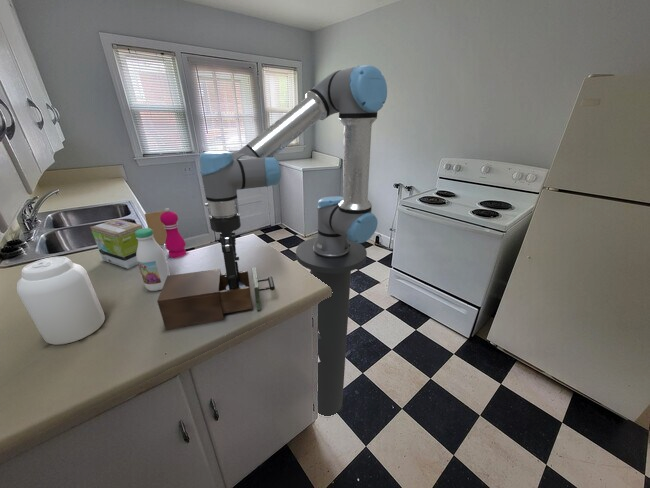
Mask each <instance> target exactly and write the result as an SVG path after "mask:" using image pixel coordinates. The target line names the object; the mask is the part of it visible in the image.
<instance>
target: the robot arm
mask: <svg viewBox="0 0 650 488" xmlns="http://www.w3.org/2000/svg"><path fill="white" fill-rule="evenodd" d="M387 98H388V85H387V81H386V78H385V76H384V75H383V73H382V71H381V70H380V69H379V68H377V67H376V66H375V65H372V64H371V65H370V64H369V65H357V66H354V67H349V68H345V69H339V70H335V71H333V72H332V73H330V74H328V75H327V76H326V77H324V78H323V79H322V80H320V81H318V83H317V84H316V85H314V86H313V87H312V88H311V89H309V90H308V91H307V92H306V93H305V96H304V99H302V100H301V101H299V102H298V103H297V104H296V105H295V106H294V107H292V108H291V109H290V110H288V111H287V112H286V113H285V114H283V115H282V116H281V117H279V119H277V120H276V121H275V122H274V123H272V124H271V125H269V126H268V127H267V128H266V129H264V130H263V131H262V132H260V133H259V134H258V135H257V136H256V137H254V138H253V139H252V140H251V141H250V142H248V143H246V144H245V145H244V146H243V147H241V148H240V149H239V150H236V151H235V150H234V151H232V152H230V151H227V150H211V151H210V150H209V151H204V152H201V153H200V155H199V166H200V175H201V180H202V184H203V190H204V196H205V200H206V202H204V203H203V205H204V207H207V213H208V215H209V217H208V219H209V226H210V230H212V232H215V233H219V243H220V245H221V252H222V254H223V260H224V267H225V273H226V275H227V276H224V278H227V279H228V285H229V289H235V288H239V281H240V278H239V272H240V270H239V265H238V264H239V263H238V261H240V256H237V255H238V254H237V248H236V247H237V246H236V245H237V243H236V232H235V231H237V230H239V229H240V228H241V226H242V224H241V215H240V213H239V212H240V207H239V206H240V205H239V197H238V190H247V189H256V188H264V187H265V188H266V187H267V188H268V187H272V186H276V185H278V184H279V183H280V182H281V178H282V177H281V176H282V170H281V166H280V163H279V161H278V160H277V159H276V158H275V156H276V155H278V154H279V153H280V152H281V151H283V150H284V149H285V148H286V147H288V146H289V145H290V144H291V143H293V141H295V140H296V139H298V138H299V137H300V136H301V135H302V134H303V133H305V132H306V131H307V130H308V129H310V128H311V127H312V126H313V125H315V124H316V123H317V122H319V121H324V120H326V119H327V118H328V117H330V116H332V115H335V114H338V120H339V121H340V122H341V123H342V125H343V157H342V158H343V165H342V166H343V168H342V169H343V170H342V196H338V195H337V196H336V195H335V196H325V197H321V198H320V199H319V200H318V201H317V207H316V209H317V235H316V237H315V238H316V240H315V243H314V246H313V251H314V253H315V254H316V255H318V256H320V257H324V258H340V257H344V256H346V255H347V254H348V253H349V246H350V244H348V240H350V241H353V242H355V243H360V244H363V243H365V242H367V241H368V240H370V239H371V238H372V236H373V235H374V234H375V232H376V230H377V228H378V218H377V217H376V215H375V213H372V207H373V204H372V203H371V202H370V200H369V183H370V182H369V181H370V162H371V144H372V143H371V142H372V127H373V123H374V122H376V121H377V119H378V112H379V111H380V110H381V109H382V108H383V107H384V104H385V103H386V101H387ZM347 239H348V240H347Z"/></svg>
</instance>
